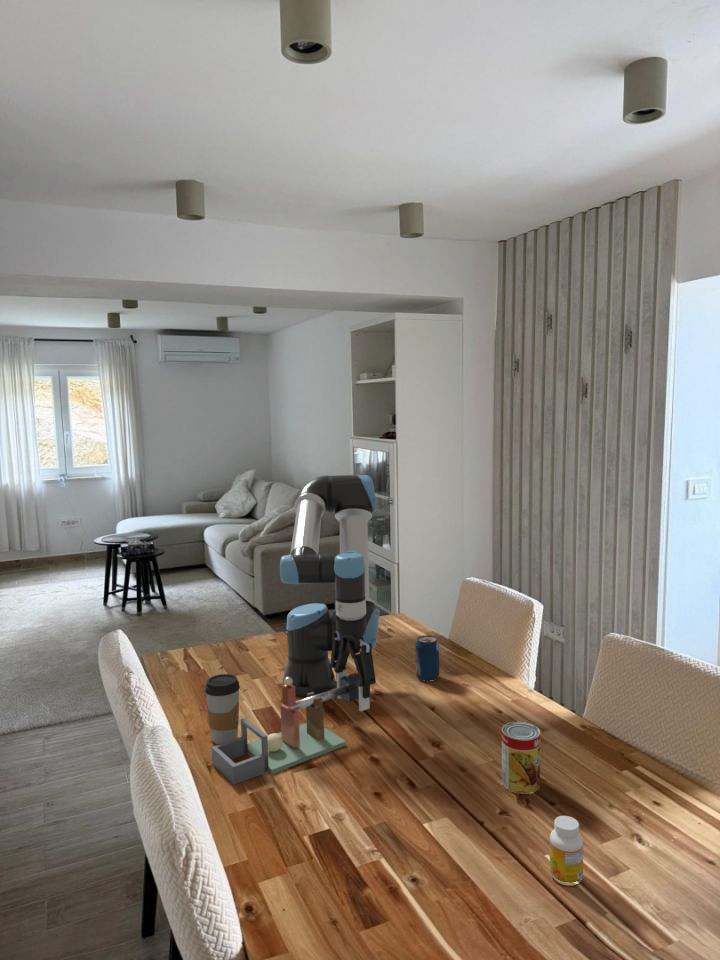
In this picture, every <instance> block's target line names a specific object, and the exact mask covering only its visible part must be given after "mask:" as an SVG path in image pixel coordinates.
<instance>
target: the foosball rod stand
mask: <svg viewBox="0 0 720 960" xmlns="http://www.w3.org/2000/svg"><path fill="white" fill-rule="evenodd" d="M364 680H365V679H364ZM284 684H285V685H283V684H282V686H281V687H282V688H281V689H282V690H281V691H282V693H281V694H282V703H281V704H280V705H279V707H280V729H281V730H280V732H281V734H282V740H283V741H284V742H286V743H287V744H288V745H290V746H291V747H292V748H294V749H297V748H300V736H299V725H300V713H299V710H302V709H306V707H308V706H311V705H314V698H317V697H320V696H321V697H322V703H323V702H326V701H329V700H331V699H336V698H337V697H338V696H340V697H341V698H340V699H343V700H345V701H347V702H349V703H351V702H355V701H357V700H358V701H359V686H358V685H360V684H361V683H360V679H359V676H358V672H354V673H350V674H347V676H344V677H341V678H340V687H339V688H337V687H336V688H333V689H332V690H330V691H326V692H323V693H320V694H317V695H314V696H311V697H308V698H307V697H305V698H302V699H300V700H296V695H295V686H293V685H292V684H293V679H292V678H291V677H286V678H285V679H284Z"/></svg>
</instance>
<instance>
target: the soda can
mask: <svg viewBox="0 0 720 960" xmlns="http://www.w3.org/2000/svg"><path fill="white" fill-rule="evenodd" d="M415 675H416V678H417V679H418V678H419V679H420V680H419V679H418V680H419V681H421V680H425V681H430V680H435V679H436V680H437V679H438V678H439V676H440V643H439V642H438V638H437V637H436V636H433V635H420V636H418V637H417V640H416V642H415ZM436 680H435V681H436Z"/></svg>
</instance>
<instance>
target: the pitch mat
mask: <svg viewBox="0 0 720 960" xmlns="http://www.w3.org/2000/svg"><path fill="white" fill-rule="evenodd" d="M276 734H278V735H280V736H281V738H282V734H281V731H280V732H277V733H276ZM299 736H300V748H297V749H294V748H292V747H291V746H290V745H288V744H287V743H286V742H284V741H283V740H282V746H281V748H280V749H279V750H278V751H276V752H271V751H269V750H268V763H269V771H268V772H269V773H270V774H271V775H273V774H276V773H278V772H279V773H280V772H281V771H283V770H287V769H289V768H292V767H294V766H297V765H300V764H302V763H305V762H307V761H308V760H312V759H314V758H317V757H319V756H322V755H324V754H327V753H329V752H332V751H335V750H338V749H340V748H343V747H344V746H346V745H347V742H346V740H344V739H343V738H341V737H340V736H339V735H336V734H335V732H332V731H331V730H329V729H328V728H326V727H325V726H324V739H321V740H317V739H315V738H314V737H312V736H311V735H309V734H308V733H307V722H304V723H302V724H299ZM247 744H248V755H249V756H250V758H252V757H255V756H258V755H260V754H262V742H261V738H260V739H256V740H254V741H251V742H247Z"/></svg>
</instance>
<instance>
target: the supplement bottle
mask: <svg viewBox="0 0 720 960" xmlns="http://www.w3.org/2000/svg"><path fill="white" fill-rule="evenodd" d="M553 823H554V826H553V829H552V831H551V833H550V835H549V874H550V873H551V874H552V876H554V877H555V878H556V879H558V880H560V881H563V882H570V883H571V882H576V881H579V880H580V879H581V878H582V876H583V877H584V838H583V836H582V834H581V833H580V823H579V821H578V820H577V819H575V818H574V817H572V816H568V815H559V816H556V818H555V819H554V822H553Z"/></svg>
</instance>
